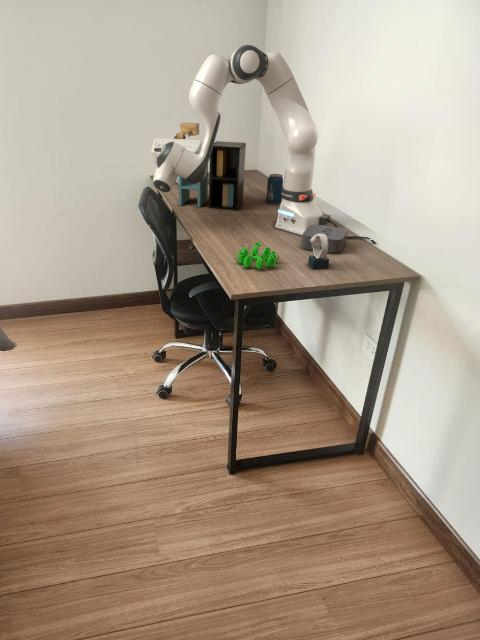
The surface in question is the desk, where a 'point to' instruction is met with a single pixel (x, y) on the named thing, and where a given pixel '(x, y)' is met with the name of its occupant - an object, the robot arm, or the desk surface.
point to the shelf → (227, 175)
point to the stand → (186, 186)
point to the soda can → (274, 188)
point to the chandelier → (257, 257)
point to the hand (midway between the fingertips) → (182, 134)
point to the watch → (319, 252)
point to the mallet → (188, 130)
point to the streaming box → (333, 234)
